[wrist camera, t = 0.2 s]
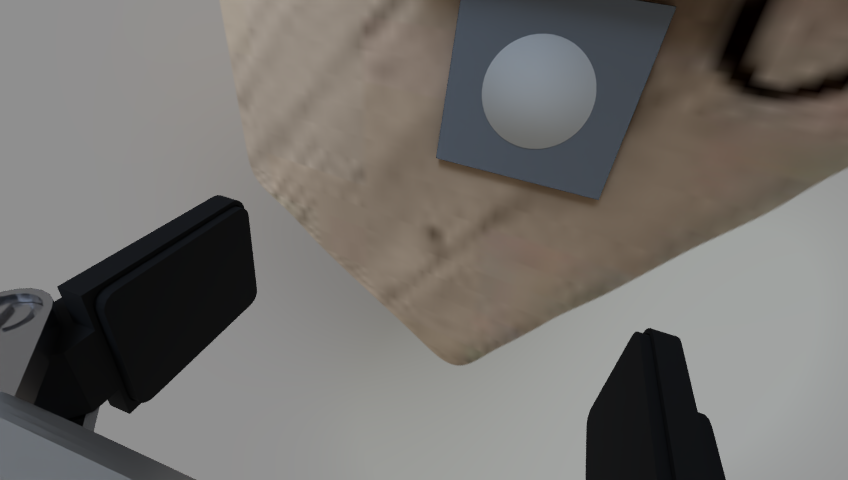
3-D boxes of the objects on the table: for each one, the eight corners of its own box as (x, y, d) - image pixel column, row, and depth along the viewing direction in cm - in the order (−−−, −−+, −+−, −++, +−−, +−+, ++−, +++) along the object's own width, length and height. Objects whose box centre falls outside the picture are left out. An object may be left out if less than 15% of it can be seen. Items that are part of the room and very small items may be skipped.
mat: (467, -28, 33) (464, -28, 32) (674, 6, 30) (676, 7, 29) (439, 154, 41) (435, 158, 41) (598, 195, 38) (598, 200, 38)
